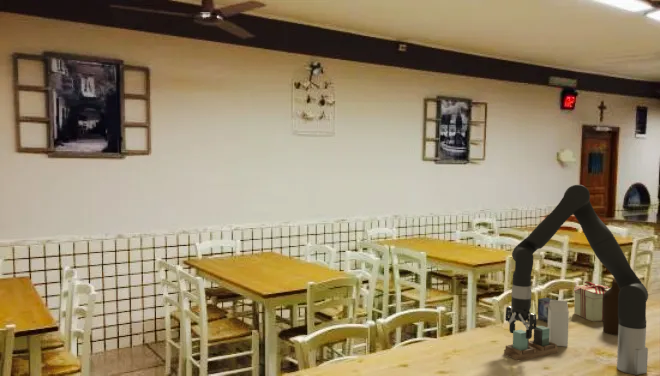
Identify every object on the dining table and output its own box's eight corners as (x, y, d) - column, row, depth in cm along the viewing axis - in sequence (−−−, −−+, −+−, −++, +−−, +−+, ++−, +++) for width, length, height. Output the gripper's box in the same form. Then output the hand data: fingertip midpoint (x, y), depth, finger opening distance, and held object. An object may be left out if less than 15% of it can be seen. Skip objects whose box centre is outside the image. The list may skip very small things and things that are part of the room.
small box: (536, 319, 280) (537, 298, 280) (546, 317, 283) (546, 297, 283) (553, 324, 271) (553, 303, 270) (563, 323, 274) (563, 302, 273)
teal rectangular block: (528, 351, 226) (529, 332, 226) (520, 353, 224) (520, 333, 224) (521, 348, 230) (521, 329, 229) (512, 350, 228) (513, 330, 227)
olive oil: (621, 337, 252) (623, 282, 251) (597, 331, 261) (599, 278, 259) (631, 332, 259) (633, 279, 258) (608, 327, 267) (609, 275, 266)
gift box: (567, 314, 290) (568, 281, 289) (595, 311, 295) (597, 279, 294) (591, 323, 274) (592, 288, 273) (621, 320, 279) (622, 286, 278)
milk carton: (567, 347, 238) (569, 303, 237) (550, 345, 240) (551, 302, 239) (564, 341, 245) (565, 299, 244) (547, 340, 247) (548, 298, 246)
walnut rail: (557, 352, 231) (558, 328, 231) (518, 360, 221) (519, 335, 221) (542, 346, 238) (543, 323, 238) (504, 354, 228) (504, 330, 228)
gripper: (542, 299, 221) (540, 339, 222) (514, 291, 234) (513, 329, 234) (528, 301, 218) (527, 342, 218) (501, 293, 230) (500, 332, 231)
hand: (520, 335), depth 226 cm, fingers open, 8 cm apart
